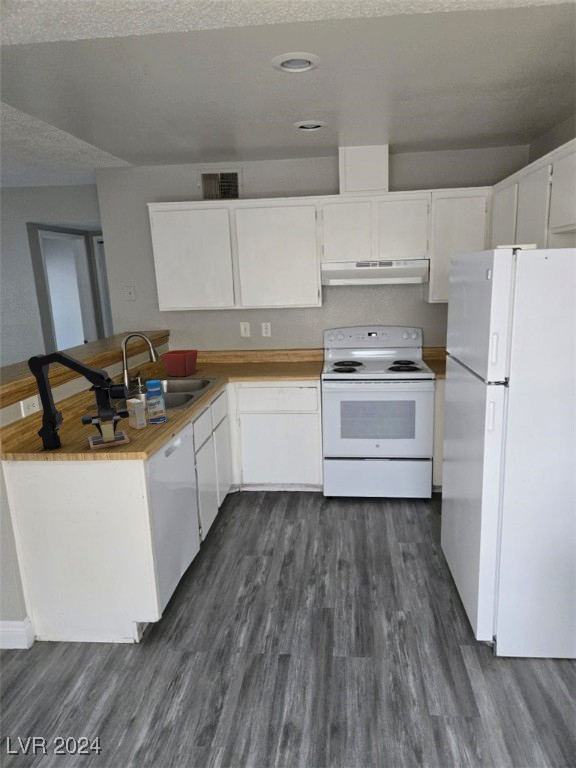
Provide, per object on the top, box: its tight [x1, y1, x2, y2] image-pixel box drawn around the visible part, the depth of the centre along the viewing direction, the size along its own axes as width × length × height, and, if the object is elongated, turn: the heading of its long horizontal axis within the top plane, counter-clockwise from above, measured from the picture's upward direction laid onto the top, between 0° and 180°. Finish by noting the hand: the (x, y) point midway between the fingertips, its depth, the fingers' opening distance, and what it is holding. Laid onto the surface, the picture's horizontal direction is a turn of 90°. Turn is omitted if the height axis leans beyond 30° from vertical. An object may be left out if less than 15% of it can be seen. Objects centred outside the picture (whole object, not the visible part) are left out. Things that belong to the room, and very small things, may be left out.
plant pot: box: [160, 349, 198, 377], centre depth 358 cm, size 19×19×17 cm
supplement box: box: [125, 398, 147, 431], centre depth 235 cm, size 8×5×13 cm, turn 45°
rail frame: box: [87, 429, 130, 451], centre depth 218 cm, size 15×17×1 cm
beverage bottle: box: [145, 379, 167, 424], centre depth 241 cm, size 8×8×20 cm
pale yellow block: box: [100, 423, 116, 443], centre depth 214 cm, size 4×4×6 cm
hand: (108, 435), depth 214 cm, fingers closed on pale yellow block, 4 cm apart
